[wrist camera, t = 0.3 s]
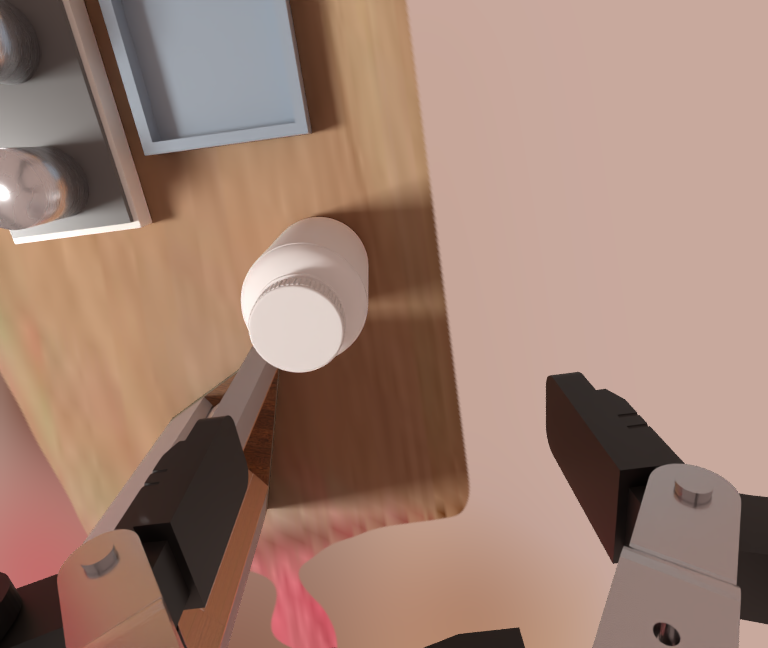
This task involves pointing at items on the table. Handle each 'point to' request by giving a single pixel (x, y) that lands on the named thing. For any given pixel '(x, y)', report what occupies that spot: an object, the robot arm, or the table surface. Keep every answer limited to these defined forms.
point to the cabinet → (256, 433)
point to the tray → (208, 71)
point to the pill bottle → (307, 295)
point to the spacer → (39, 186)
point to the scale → (73, 121)
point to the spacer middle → (17, 46)
